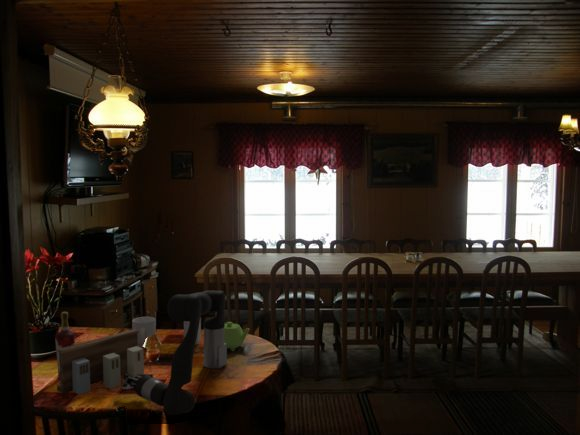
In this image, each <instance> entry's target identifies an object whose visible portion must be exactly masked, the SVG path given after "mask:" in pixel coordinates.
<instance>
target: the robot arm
mask: <svg viewBox="0 0 580 435" xmlns="http://www.w3.org/2000/svg"><path fill="white" fill-rule="evenodd" d="M166 309H167V314H168V317H169V319H170V320H172V321H174V322H175V321H176V322H184V321H189V322H190V324H189V328H188V331H187V334H186V336H185V337H184V336H183V339H182V341H181V342H180V344H179V345H178V347H177V348H176V350H175V351H174V353H173V356H172V360H171V366H170V377H169V381H168V383H167V384H166V383H165V382H163V381H162V380H160V379H158V378H155V377H153V376H154V375H153V374H151V373H150V374H148V373H147V374H146V373H144V374H137V376H136V375H131V374H128V373H126V374H123V375H122V379H123V382H122V383H121V386H122V392H126V391H127V390H130V391H134V393H136V395H137V396H138V397H140V398H143V399H144V400H146V401H148V402H150V403H153V404H155V405H158V406H161V407H163V410H164V412H165V414H167V415H168V416H174V415H176V416H177V415H181V414H188V413H189V412H191V411H192V410H193V409H194V407H195V403H196V400H195V397H194V394H192V393H191V391H188V390H186V389H183V387H184V386H186V385H188V384H190V383H191V381H192V378H193V377H192V376H193V375H192V374H193V365H194V364H193V361H194V352H195V349H196V348H195V346H196V344H195V343H196V338H197V334H198V328H199V323H200V317H201V316H205V315H206V314H208V313H216V314H215V315H213V316H211V317H209V318H205V319H204V321H203V366H204V368H207V369H221V368H222V367H224V366H226V365H227V364H228V360H227V359H228V348H227V343H225V323H226V322H225V321H226V293H225V292H224V290H204V291H201V292H193V293H189V294H179V293H178V294H175V295H172V297H171V298H170V299H169V301H168V303H167V308H166Z"/></svg>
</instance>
